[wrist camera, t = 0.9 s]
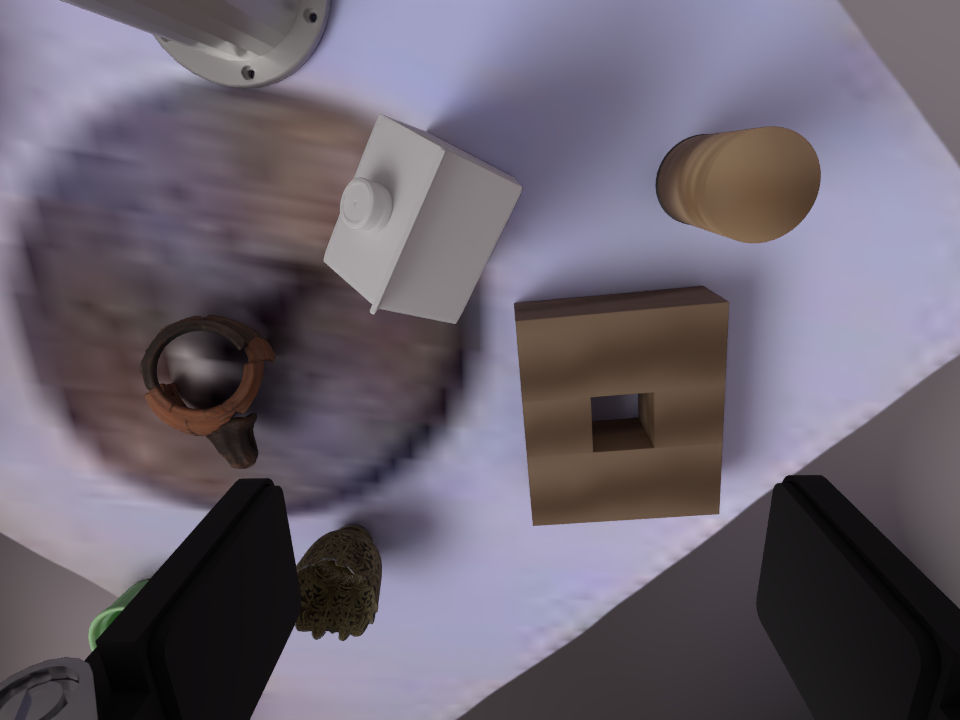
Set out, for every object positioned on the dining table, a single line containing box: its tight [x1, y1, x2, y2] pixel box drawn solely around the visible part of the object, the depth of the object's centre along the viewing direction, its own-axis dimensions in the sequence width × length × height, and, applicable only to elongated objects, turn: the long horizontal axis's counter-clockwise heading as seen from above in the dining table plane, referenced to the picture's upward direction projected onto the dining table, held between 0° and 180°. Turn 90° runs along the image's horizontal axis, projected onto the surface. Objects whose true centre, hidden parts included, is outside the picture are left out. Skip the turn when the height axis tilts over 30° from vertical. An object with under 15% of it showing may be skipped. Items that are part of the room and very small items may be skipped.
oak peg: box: [656, 127, 821, 243], centre depth 32 cm, size 5×5×14 cm
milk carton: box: [324, 114, 522, 324], centre depth 31 cm, size 7×7×19 cm
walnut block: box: [514, 286, 729, 526], centre depth 42 cm, size 16×14×5 cm
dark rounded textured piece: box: [295, 525, 382, 641], centre depth 46 cm, size 8×7×8 cm
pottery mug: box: [140, 315, 275, 469], centre depth 43 cm, size 12×10×8 cm
